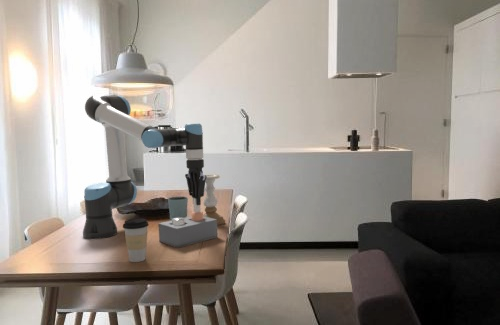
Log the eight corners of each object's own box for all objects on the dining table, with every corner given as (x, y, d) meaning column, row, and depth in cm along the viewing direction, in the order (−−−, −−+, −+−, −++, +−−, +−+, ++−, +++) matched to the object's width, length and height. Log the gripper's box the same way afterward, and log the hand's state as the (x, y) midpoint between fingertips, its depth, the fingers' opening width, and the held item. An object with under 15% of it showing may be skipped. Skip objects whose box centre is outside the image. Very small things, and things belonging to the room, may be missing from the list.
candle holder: (225, 223, 213) (224, 176, 211) (206, 226, 208) (204, 178, 205) (216, 219, 222) (214, 174, 220) (196, 222, 217) (194, 175, 215)
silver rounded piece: (177, 237, 179) (176, 221, 178) (170, 235, 183) (169, 219, 182) (187, 234, 183) (186, 218, 182) (180, 232, 186) (179, 216, 186)
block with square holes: (177, 247, 174) (176, 228, 173) (159, 241, 184) (158, 223, 184) (217, 237, 188) (217, 219, 188) (198, 231, 199) (198, 214, 198)
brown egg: (196, 230, 186) (195, 214, 185) (189, 228, 190) (188, 212, 189) (205, 228, 189) (205, 212, 189) (198, 226, 193) (198, 210, 192)
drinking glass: (165, 222, 218) (164, 199, 217) (173, 218, 228) (172, 196, 227) (184, 223, 216) (183, 200, 215) (191, 218, 226) (190, 196, 224)
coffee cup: (127, 265, 155) (125, 224, 153) (122, 258, 163) (120, 219, 161) (153, 260, 159) (151, 221, 157) (147, 254, 167) (145, 216, 166)
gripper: (210, 159, 184) (213, 212, 186) (193, 157, 194) (195, 208, 196) (196, 160, 179) (199, 215, 181) (179, 159, 188) (181, 211, 191)
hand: (197, 212), depth 189 cm, fingers closed
